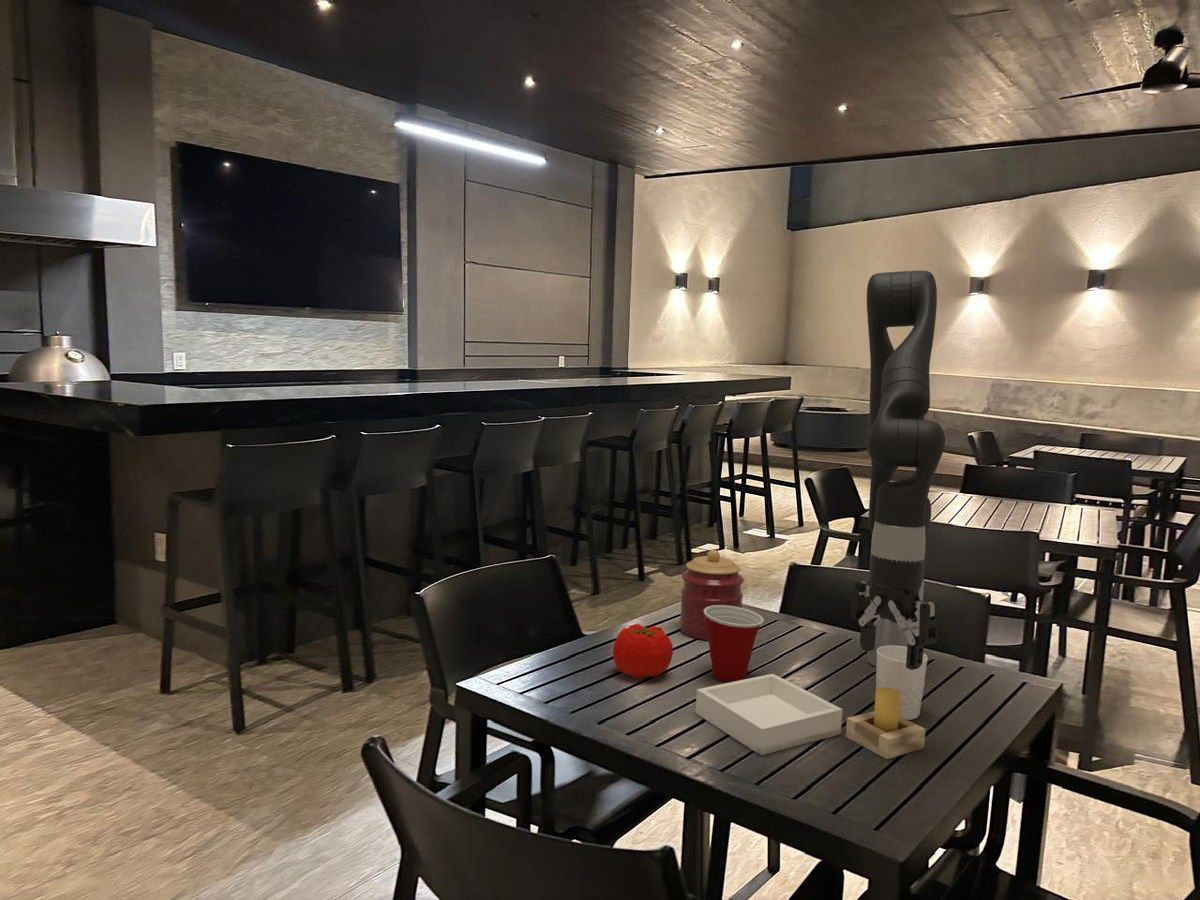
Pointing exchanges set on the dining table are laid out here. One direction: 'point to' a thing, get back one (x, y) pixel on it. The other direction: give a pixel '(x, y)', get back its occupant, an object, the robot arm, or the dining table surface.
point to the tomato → (642, 651)
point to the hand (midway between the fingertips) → (889, 659)
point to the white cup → (901, 678)
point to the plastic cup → (731, 640)
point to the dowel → (886, 709)
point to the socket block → (885, 736)
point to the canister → (708, 591)
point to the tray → (768, 713)
